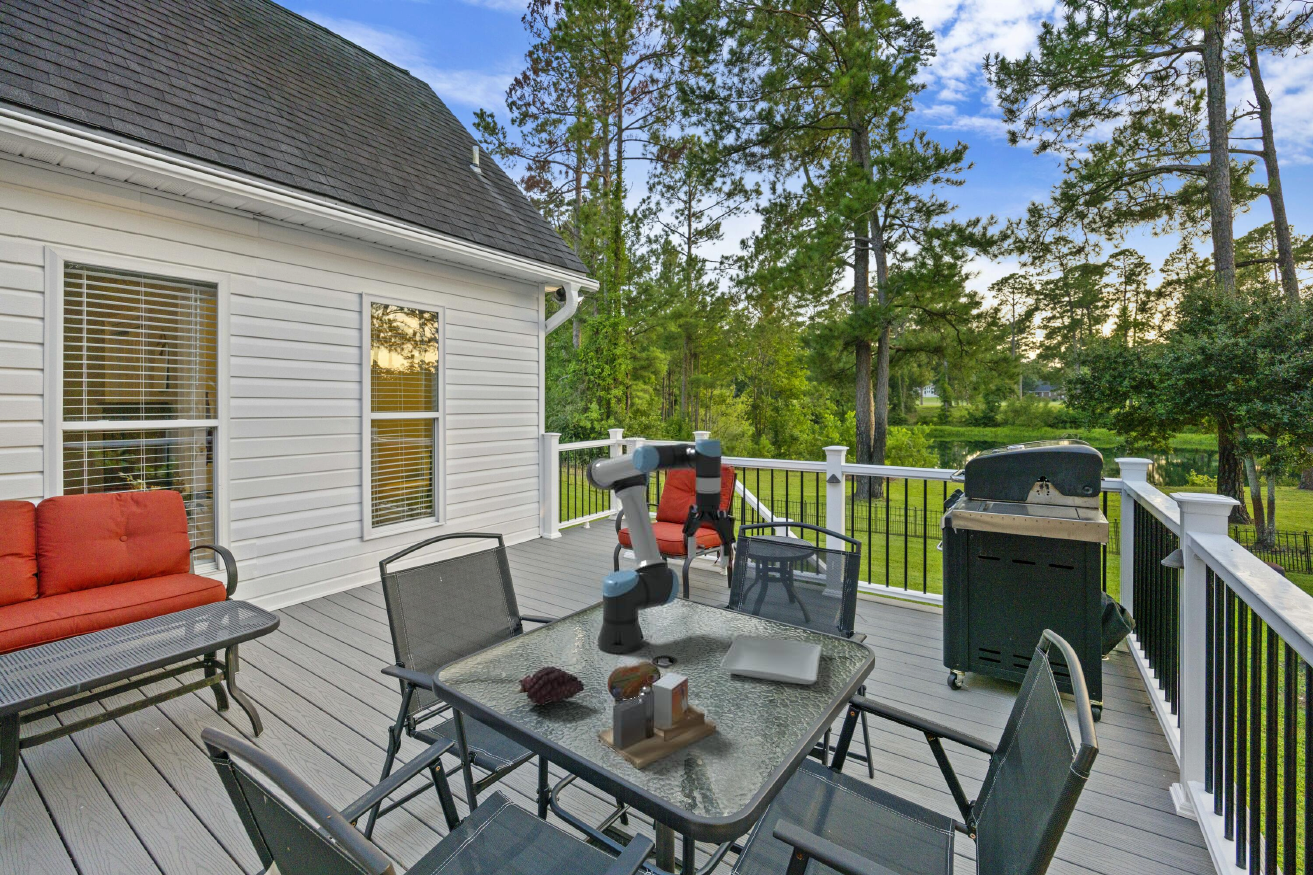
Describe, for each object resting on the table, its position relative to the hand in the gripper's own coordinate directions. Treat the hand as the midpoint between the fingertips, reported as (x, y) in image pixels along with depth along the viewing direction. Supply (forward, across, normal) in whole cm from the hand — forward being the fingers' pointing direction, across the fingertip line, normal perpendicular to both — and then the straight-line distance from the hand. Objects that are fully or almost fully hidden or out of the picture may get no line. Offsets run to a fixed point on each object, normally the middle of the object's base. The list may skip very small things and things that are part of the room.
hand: (707, 562), depth 179 cm
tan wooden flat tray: (+32, -20, +36) cm, 52 cm away
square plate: (+32, -12, -16) cm, 38 cm away
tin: (+32, 0, +28) cm, 43 cm away
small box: (+30, -19, +32) cm, 48 cm away
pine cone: (+32, +10, +48) cm, 58 cm away
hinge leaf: (+30, -19, +43) cm, 56 cm away
